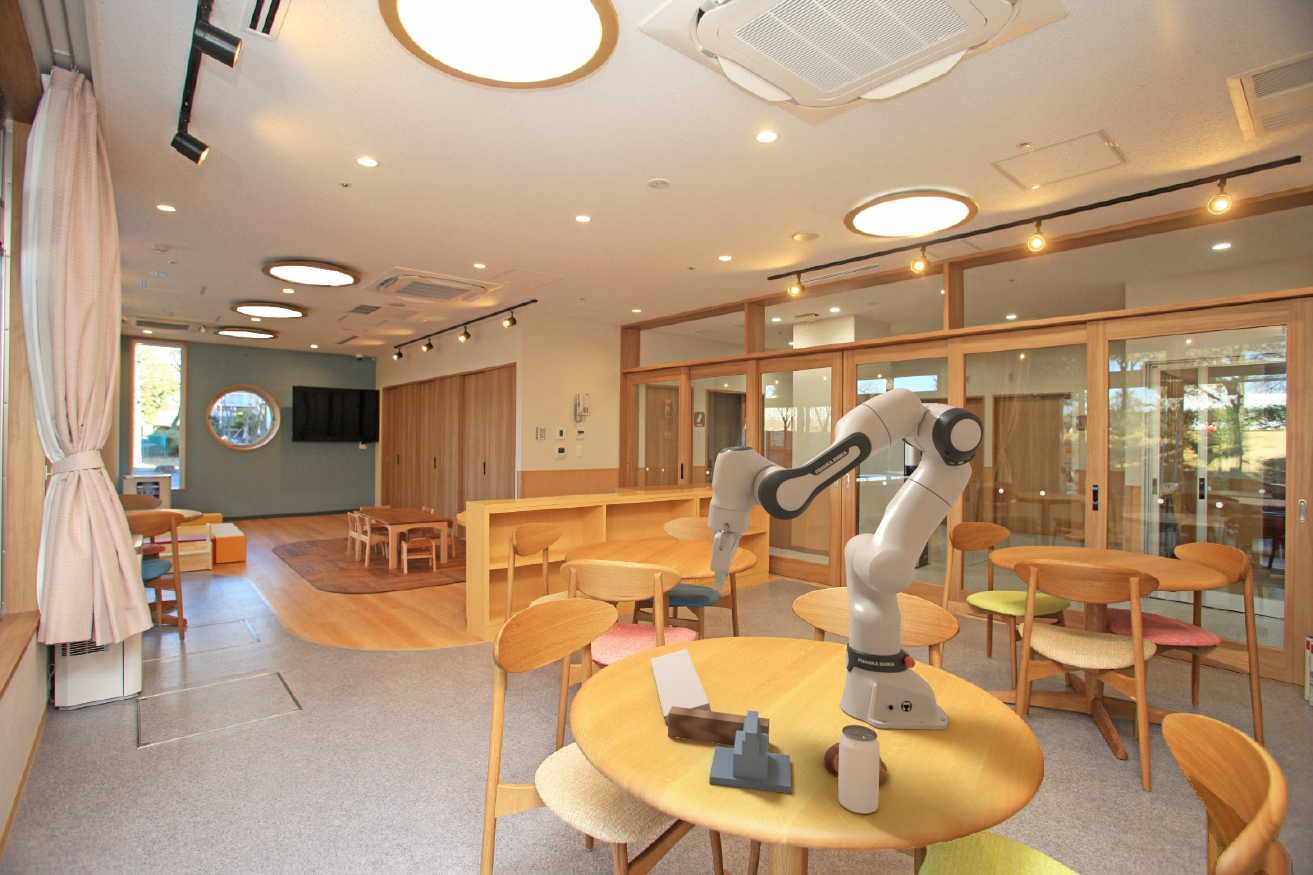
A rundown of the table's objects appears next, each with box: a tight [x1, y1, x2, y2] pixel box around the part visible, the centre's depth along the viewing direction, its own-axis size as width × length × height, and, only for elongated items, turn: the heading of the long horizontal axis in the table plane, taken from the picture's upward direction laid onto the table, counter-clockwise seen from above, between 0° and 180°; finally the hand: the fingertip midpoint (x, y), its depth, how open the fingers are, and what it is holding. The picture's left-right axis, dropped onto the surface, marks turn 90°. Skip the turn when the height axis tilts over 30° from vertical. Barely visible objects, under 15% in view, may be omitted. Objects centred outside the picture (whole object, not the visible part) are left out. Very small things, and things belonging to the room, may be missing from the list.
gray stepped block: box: [708, 710, 792, 794], centre depth 114 cm, size 14×11×9 cm
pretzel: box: [823, 742, 888, 787], centre depth 116 cm, size 12×11×4 cm
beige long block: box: [650, 648, 712, 725], centre depth 150 cm, size 34×5×10 cm
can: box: [837, 724, 881, 815], centre depth 105 cm, size 6×6×12 cm
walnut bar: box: [667, 706, 770, 747], centre depth 126 cm, size 20×3×5 cm, turn 76°
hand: (721, 583), depth 136 cm, fingers open, 8 cm apart
